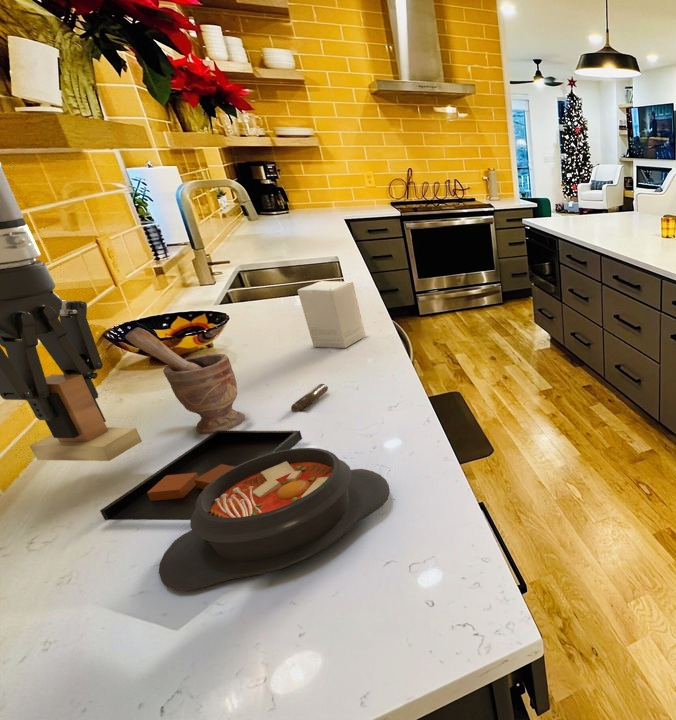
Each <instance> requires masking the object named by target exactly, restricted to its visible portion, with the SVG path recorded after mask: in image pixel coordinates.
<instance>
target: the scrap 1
mask: <svg viewBox="0 0 676 720" xmlns="http://www.w3.org/2000/svg"><path fill="white" fill-rule="evenodd" d="M198 477H199V476H198V474H197V473H187V474H177V475H166V476H165V477H164V478H163V479H162V480H161V481H159V482H158V483H157V484H156V485H155V486H154V487H153V488H152V489H150V490H149V491H148V492H147V494H148V496H149V498H150V500H151V501H157V500H167V499H177V498H183V497H184V496H185V495H187V494H188V493H189V492H190V491H191V490H192V489H193V488H194V487H195V486H196V483H195V481H194V480H195V479H196V478H198Z"/></svg>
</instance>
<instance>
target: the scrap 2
mask: <svg viewBox="0 0 676 720" xmlns="http://www.w3.org/2000/svg"><path fill="white" fill-rule="evenodd" d="M232 468H234V466H229V465H224V464H221V465H219V466H217V467H216V468H214V469H212V470H210V471H209V472H207V473H205V474H203V475H202V476H200V477H198V478H196V479H195V480H194V481H195V483H196V485H197V488H200V489H204V488H205V487H206V486H208V485H209V484H210V483H211V482H212V481H213V480H215V479H216V478H217V477H219V476H220V475H222V474H223V473H225V472H227V471H229V470H230V469H232Z"/></svg>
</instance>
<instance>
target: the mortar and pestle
mask: <svg viewBox="0 0 676 720" xmlns="http://www.w3.org/2000/svg"><path fill="white" fill-rule="evenodd" d="M124 339H125V340H127V341H128V342H129V343H131V344H132V345H133V346H134V347H136V348H138V349H140V350H142V351H143V352H144V353H147V354H149V355H151V356H153V357H155V358H157V359H158V360H160V361H161V362H163V363H165V364H166V366H165V367H164V368H163V371H162V372H163V374H164V376H165V378H166V380H167V382H168V383H169V385H170V388H171V390H172V392H173V395H174V396H175V398H176V399H177V400H178V401H179V403H180V404H181V405H182V406H183V407H184V408H185V410H187V411H188V412H190V413H193V414H197V415H199V417H200V420H199V421H198V422H197V424H196V426H195V431H196V433H197V434H200V435H201V434H202V435H211V434H213V433H214V432H216V431H230V430H231V429H233V428H235V427H238V426H239V425H241V424H242V423H244V421H245V420H246V416H245V414H244V413H242V412H240V411H237V410H236V409H233V405H234V402H235V401H236V399H237V397H238V382H237V378H236V376H235V373H234V370H233V368H232V364H231V361H230V358H229V356H228V355H227V354H224V353H204V354H199V355H198V354H197V355H194V356H190V357H185V358H183V357H182V356H180V355H178V354H177V353H176V352H174V351H173V350H172V349H171V348H169V347H168V346H167V345H166V344H164V343H163V342H162V341H161V340H160V339H159V338H157V336H155V335H154V334H152V333H151V332H150V331H148V330H145V329H144V328H141V327H139V326H138V327H135V328H133V329H132V330H130V331H129V332H128V333H127V334H125V335H124Z"/></svg>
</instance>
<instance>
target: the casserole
mask: <svg viewBox="0 0 676 720" xmlns="http://www.w3.org/2000/svg"><path fill="white" fill-rule="evenodd" d="M389 496H390V485H389V483H388V482H387V479H386V478H384V476H382V475H381V474H379V473H377V472H375V471H374V470H369V469H366V468H354V469H351V467H350V466H349V464H347V463H346V461H344V460H342V459H339V457H338V456H337V455H336V454H334V453H333V452H332V451H329V450H327V449H322V448H317V447H298V448H291V449H289V450H283V451H278V452H274V453H270V454H267V455H263V456H260V457H257V458H255V459H252V460H249V461H247V462H245V463H242V464H240V465H238V466H236V467H234V468H232V469H230V470H229V471H227V472H225V473H223V474H222V475H220V476H219V477H217V478H216V479H215V480H213V481H212V482H211V483H210V484H209V485H208V486H206V487H205V488H204V490H203V491H202V492H201V493H200V495H199V497H198V499H197V501H196V509H195V510H194V512H193V514H192V517H191V520H189V521H190V523H189V524H190V525H189V527H190V529H191V530H189V531H187V532H185V533H183V534H182V535H180V536H179V537H178V538H176V539H175V540H174V541H173V542H172V543H171V544H170V545H169V547H168V548H167V549H166V550H165V552H164V553H163V556H162V558H161V560H160V562H159V567H158V575H159V578H160V581H161V582H162V583H163V584H164V585H165V586H166V587H167V588H170V589H173V590H175V591H193V590H198V589H200V588H204V587H208V586H212V585H215V584H218V583H222V582H225V581H229V580H235V579H241V578H246V577H251V576H258V575H262V574H267V573H270V572H274V571H277V570H281V569H285V568H287V567H289V566H292V565H295V564H297V563H299V562H302V561H304V560H306V559H308V558H310V557H312V556H314V555H316V554H318V553H320V552H322V551H324V549H326V548H328V547H329V546H330V545H332V544H334V543H335V542H337V541H338V540H339V539H340V538H341V537H343V536H344V535H345V534H346V533H347V532H348V531H350V530H351V529H352V528H354V527H355V526H356V525H357V524H358V523H359V522H361V521H362V520H364V519H366V518H368V517H369V516H370V515H372V514H373V513H375V512H376V511H378V510H379V509H380V508H382V507H383V506H384V504H386V502H387V501H388V499H389Z"/></svg>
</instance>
